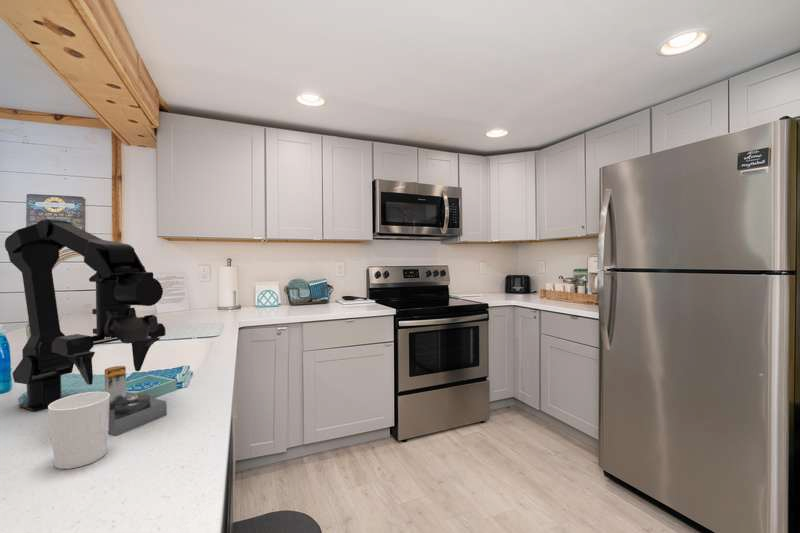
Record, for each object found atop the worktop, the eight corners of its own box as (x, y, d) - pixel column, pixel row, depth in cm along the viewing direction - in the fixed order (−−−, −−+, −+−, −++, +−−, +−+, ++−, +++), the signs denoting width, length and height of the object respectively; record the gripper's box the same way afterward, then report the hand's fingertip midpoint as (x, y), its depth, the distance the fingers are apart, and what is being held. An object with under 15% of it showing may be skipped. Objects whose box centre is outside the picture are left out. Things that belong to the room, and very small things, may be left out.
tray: (107, 397, 88) (107, 387, 88) (150, 384, 98) (149, 374, 98) (134, 404, 84) (134, 393, 84) (176, 389, 94) (176, 379, 94)
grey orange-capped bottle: (101, 419, 77) (100, 369, 76) (119, 412, 80) (119, 365, 80) (112, 422, 75) (111, 371, 75) (130, 415, 79) (129, 367, 78)
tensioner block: (78, 424, 74) (77, 398, 74) (130, 405, 84) (130, 382, 83) (115, 435, 70) (115, 408, 70) (166, 414, 79) (166, 390, 79)
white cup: (75, 474, 58) (73, 411, 57) (36, 468, 59) (34, 407, 59) (122, 448, 65) (121, 393, 65) (86, 444, 67) (85, 389, 67)
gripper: (84, 312, 65) (86, 399, 66) (181, 300, 83) (182, 369, 83) (49, 308, 69) (51, 390, 70) (148, 298, 87) (149, 363, 87)
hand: (114, 377), depth 77 cm, fingers open, 9 cm apart
